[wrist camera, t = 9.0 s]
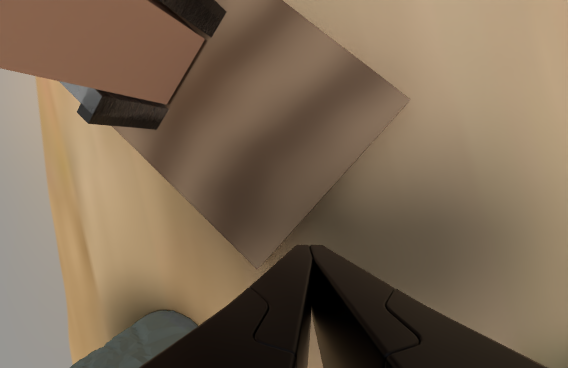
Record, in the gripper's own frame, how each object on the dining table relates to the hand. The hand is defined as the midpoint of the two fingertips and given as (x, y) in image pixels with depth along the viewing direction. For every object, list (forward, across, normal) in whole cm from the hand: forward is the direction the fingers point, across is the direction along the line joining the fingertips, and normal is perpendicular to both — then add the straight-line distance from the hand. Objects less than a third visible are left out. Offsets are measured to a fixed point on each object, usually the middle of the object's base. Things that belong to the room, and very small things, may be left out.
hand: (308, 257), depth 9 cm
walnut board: (+13, -6, +4) cm, 14 cm away
